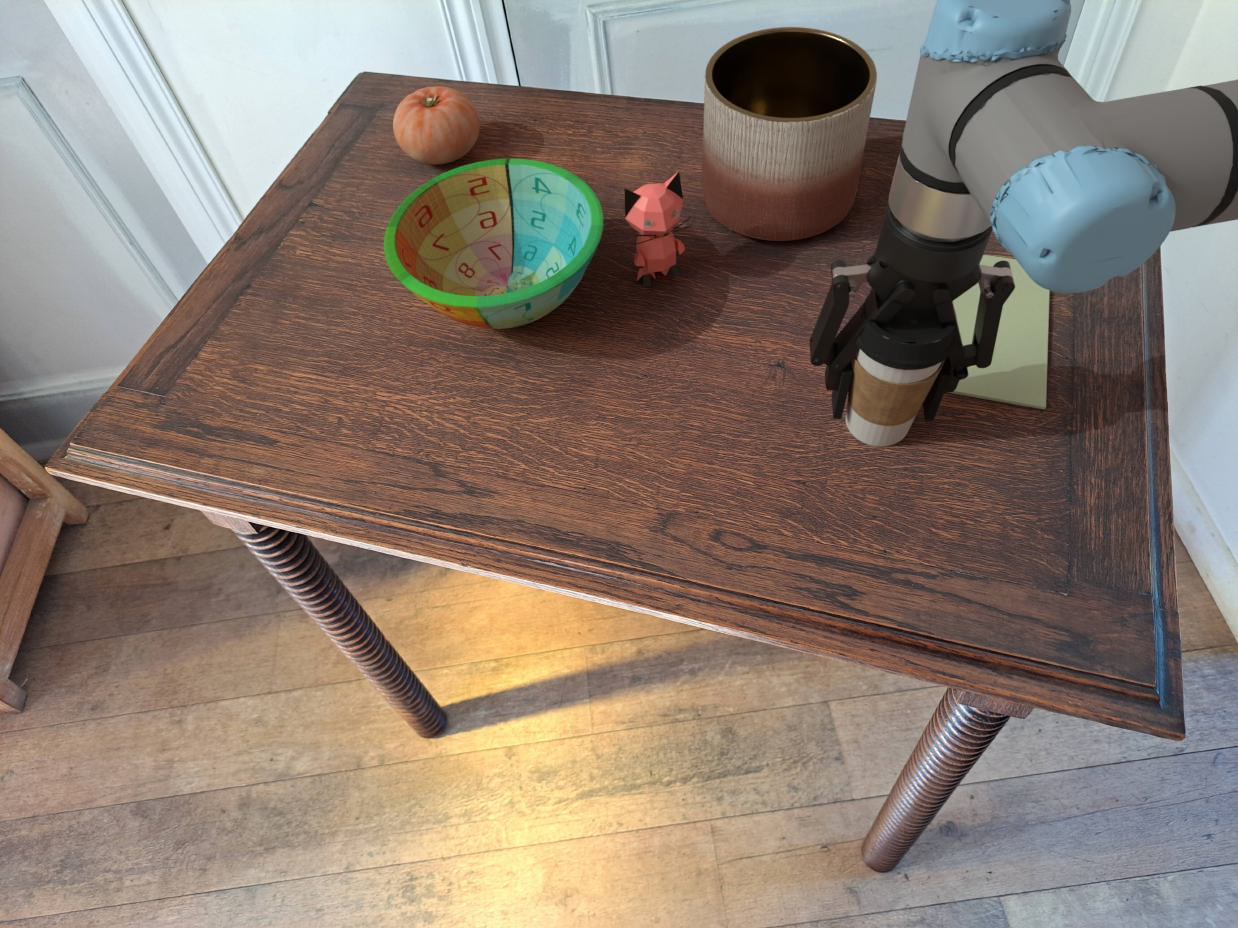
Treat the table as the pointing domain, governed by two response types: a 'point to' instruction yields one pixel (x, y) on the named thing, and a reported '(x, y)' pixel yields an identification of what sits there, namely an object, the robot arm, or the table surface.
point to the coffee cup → (894, 374)
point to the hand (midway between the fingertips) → (881, 408)
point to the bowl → (495, 241)
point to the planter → (785, 131)
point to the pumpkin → (436, 125)
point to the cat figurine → (656, 227)
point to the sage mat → (1010, 343)
